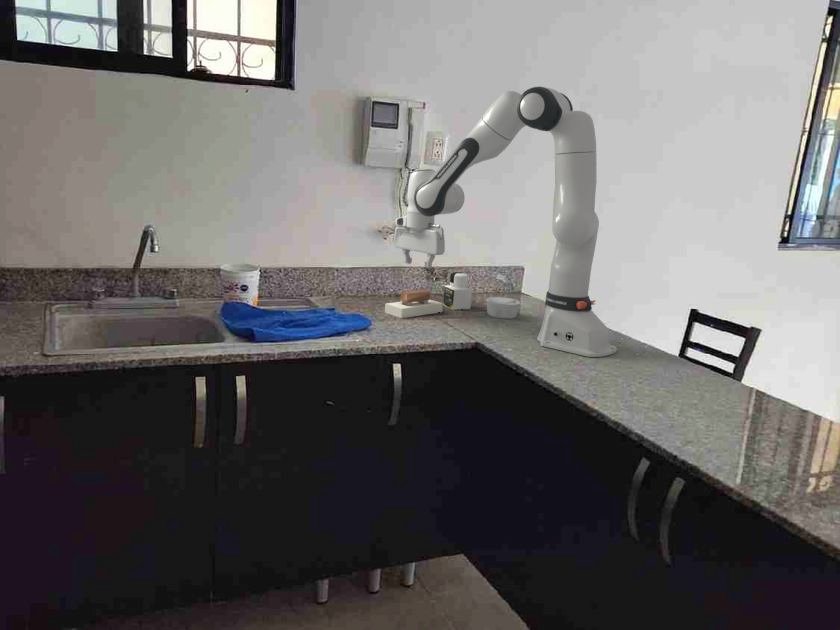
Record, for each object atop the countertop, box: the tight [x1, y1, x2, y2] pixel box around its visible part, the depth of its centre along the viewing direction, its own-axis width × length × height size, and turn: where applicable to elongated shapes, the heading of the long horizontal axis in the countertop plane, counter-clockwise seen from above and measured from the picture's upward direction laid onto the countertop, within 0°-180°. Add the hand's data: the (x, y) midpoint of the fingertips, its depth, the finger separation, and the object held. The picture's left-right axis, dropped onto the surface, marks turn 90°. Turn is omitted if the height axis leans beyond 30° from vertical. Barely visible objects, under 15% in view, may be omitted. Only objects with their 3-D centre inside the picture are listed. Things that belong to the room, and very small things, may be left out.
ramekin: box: [486, 296, 521, 320], centre depth 220 cm, size 11×11×5 cm
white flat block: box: [384, 299, 444, 319], centre depth 216 cm, size 8×18×3 cm, turn 133°
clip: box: [399, 288, 431, 306], centre depth 215 cm, size 3×10×7 cm, turn 133°
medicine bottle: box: [442, 271, 473, 311], centre depth 227 cm, size 7×7×12 cm
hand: (417, 265), depth 212 cm, fingers open, 8 cm apart
